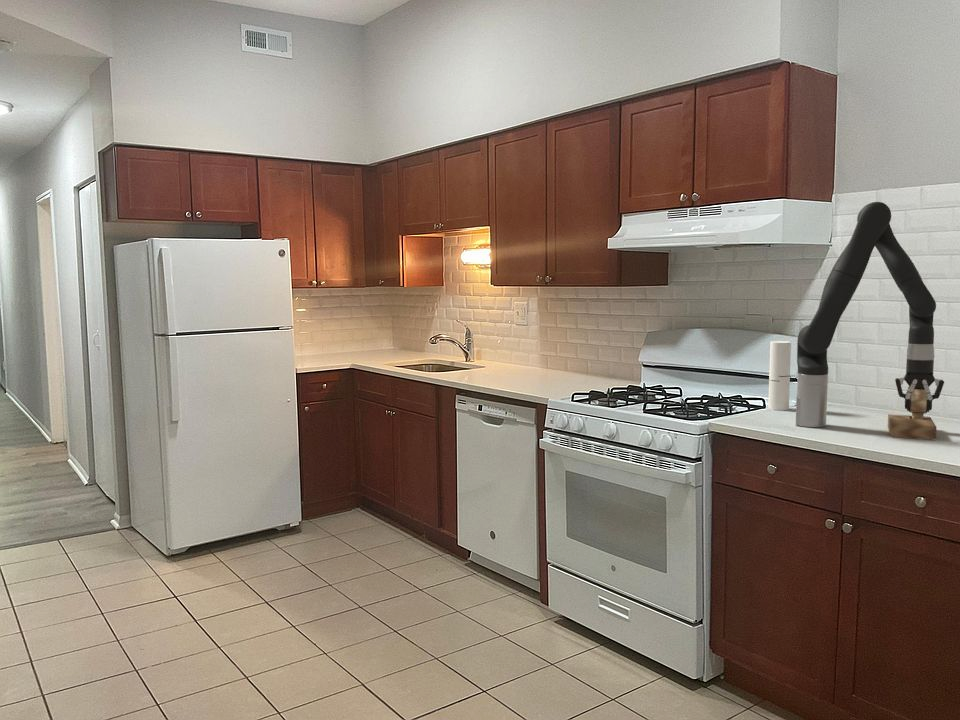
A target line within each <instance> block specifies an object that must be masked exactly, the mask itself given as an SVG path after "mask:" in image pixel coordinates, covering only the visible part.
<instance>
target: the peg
mask: <svg viewBox="0 0 960 720" xmlns="http://www.w3.org/2000/svg"><path fill="white" fill-rule="evenodd" d="M927 390H928V389H927ZM908 412H909V413H911V416H912V419H923V417H924V415H925V414H927V413H928V412H927V394H926V390H925V389H913V392H912V394H911V396H910V411H908Z"/></svg>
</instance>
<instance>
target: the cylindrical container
mask: <svg viewBox="0 0 960 720" xmlns="http://www.w3.org/2000/svg"><path fill="white" fill-rule="evenodd" d="M791 354H792V342H791V341H784V340H773V341H772V340H771V341H770V344H769V374H768V375H769V377H768V403H767V404H768V405H767V406H768V407H767V408H768V410H770V411H771V410H772V411H789V410H790V388H791V387H790V384H791V381H790V380H791V356H792V355H791ZM788 409H789V410H788Z"/></svg>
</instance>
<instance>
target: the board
mask: <svg viewBox="0 0 960 720" xmlns="http://www.w3.org/2000/svg"><path fill="white" fill-rule="evenodd" d="M887 429H888V433H889V435H891V436H890V437H891V438H901V437H905V438H904V439H916V438H923V439H922V440H930V439H936V440H937V425H936V423H935V422H934V420H933V419H932V418H931V416H924V417H923V419H912V415H903V414H889V413H888V414H887Z"/></svg>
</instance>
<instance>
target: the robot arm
mask: <svg viewBox="0 0 960 720" xmlns="http://www.w3.org/2000/svg"><path fill="white" fill-rule="evenodd" d="M856 217H857V219H856V221H857V223H856V226H855V227H854V228H855V229H854V231H853V233H852V235H851V238H850V240H849V241H848V243H847V245H846V246H845V247H844V249H843V250H842V252H841V253H840V255H839V256H838V258H837V259H836V261H835V263H834V265H833V267H832V269H831V271H830V273H829V275H828V276H827V279H826V281H825V283H824V287H823V290H822V292H821V293H822V294H821V296H820V297H821V298H820V302H819V305H818V309H817V311H816V312H815V314H814V316H813V318H812V320H811V321H810V323H809V324H807V325H805V326H804V327H802V328H801V329H800V331H799V332H798V335H797V340H796V341H797V343H796V345H797V347H796V349H797V350H796V363H797V383H796V385H797V388H796V397H795V398H796V401H795V426H800V427H806V428H825V427H826V426H827V410H828V407H827V406H828V385H829V379H828V378H829V364H828V348H829V347H830V346H831V344H832V340H833V338H834V335H835V332H836V330H837V327H838V325H839V322H840V319H841V317H842V315H843V314H844V312H845V310H846V309H847V307H848V306H849V303H850V302H851V300H852V298H853V297H854V295H855V292H856V291H857V289H858V287H859V284H860V282H861V280H862V278H863V276H864V274H865V271H866V269H867V266H868V264H869V261H870V259H871V256H872V253H873V250H874V248H876V250H877V251H878V253H879V254H880V256H881V259H882V260H883V262H884V264H885V266H886V269H887V270H888V272H889V273H890V276H891V277H892V279H893V281H894V282H895V285H896V286H897V287H898V290H899V291H900V292H901V293H902V294H903V297H904V298H905V300H906V302H907V303H906V304H907V305H908V312H909V313H908V317H909V329H908V341H907V342H908V344H907V349H906V365H905V366H906V368H905V375H904V377H903V376H902V377H899V378H898V377H896V378H895V379H894V382H895V385H896V390H897V394H898V396H899V397H900V398H903V399H904V409H905V410H906V411H907V412H909V411H910V396H911V394H912V392H913V389H925V390H926V394H927V413H930V411H932V409H933V400H935V399H937V400H938V399H939V398H940V396H941V393H942V390H943V387H944V385H945V381H944V379H938V378H935V375H934V365H935V364H934V363H935V347H934V346H935V345H934V342H935V341H934V340H935V329H934V324H933V323H934V313H935V312H936V309H937V302H936V299H935V298H934V297H933V295H932V294H931V292H930V290H929V289H928V288H927V286H926V284H925V283H924V281H923V279H922V277H921V274H920V273H919V271H918V269H917V267H916V265H915V264H914V262H913V261H912V259H911V257H910V256H909V255H908V253H907V252H906V251H905V250H904V248H903V247H902V245H901V244H900V243H899V241H898V239H897V238H896V236H895V234H894V232H893V229H892V227H891V224H890V223H891V220H892V211H891V208H890V207H889V205H887V204H886V203H884V202H881V201H874V202H870V203H868V204H866V205H864V206H863V207H862V208H861V209H860V211H859V212H858V214H857V216H856ZM904 381H905V382H906V384H907V385H908V388H907V390H906V392H905V393H904V392H903V388H902V385H903V384H904ZM934 382H935V383H934ZM933 383H934V385H935V386H936V387H935V391H934V394H932V393H931V390H930V387H931V386H932V384H933ZM927 389H928V390H927Z"/></svg>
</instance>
